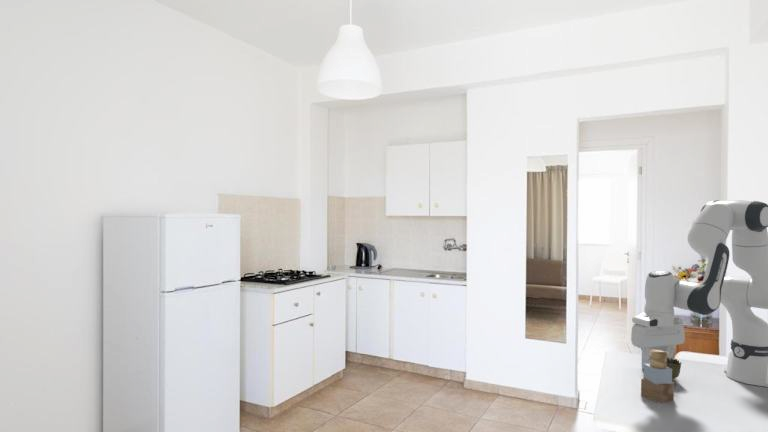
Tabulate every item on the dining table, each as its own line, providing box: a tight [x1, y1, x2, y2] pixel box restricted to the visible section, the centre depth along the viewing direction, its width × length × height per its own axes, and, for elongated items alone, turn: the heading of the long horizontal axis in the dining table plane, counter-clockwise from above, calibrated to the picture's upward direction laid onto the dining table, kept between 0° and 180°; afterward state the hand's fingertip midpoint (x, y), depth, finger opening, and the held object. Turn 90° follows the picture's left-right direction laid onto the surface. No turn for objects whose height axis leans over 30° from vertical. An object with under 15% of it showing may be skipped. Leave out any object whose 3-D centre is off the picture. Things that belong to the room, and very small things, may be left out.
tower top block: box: [642, 364, 672, 385], centre depth 160 cm, size 6×6×5 cm
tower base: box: [640, 378, 675, 404], centre depth 160 cm, size 7×7×6 cm
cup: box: [667, 358, 682, 383], centre depth 176 cm, size 8×7×8 cm
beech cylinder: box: [650, 350, 667, 369], centre depth 159 cm, size 5×5×5 cm
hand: (658, 358), depth 160 cm, fingers open, 8 cm apart
